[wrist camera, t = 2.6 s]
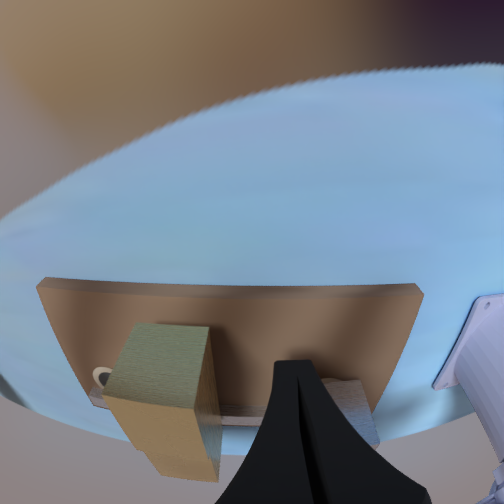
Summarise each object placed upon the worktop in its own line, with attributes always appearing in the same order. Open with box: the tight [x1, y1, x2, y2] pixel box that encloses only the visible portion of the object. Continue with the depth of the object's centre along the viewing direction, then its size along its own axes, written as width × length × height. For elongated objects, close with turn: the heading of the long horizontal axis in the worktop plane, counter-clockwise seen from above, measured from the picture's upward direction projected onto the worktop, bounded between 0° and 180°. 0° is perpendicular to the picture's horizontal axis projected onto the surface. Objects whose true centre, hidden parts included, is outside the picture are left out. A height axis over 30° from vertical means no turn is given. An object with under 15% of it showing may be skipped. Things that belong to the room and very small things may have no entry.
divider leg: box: [101, 322, 223, 482], centre depth 11 cm, size 3×8×5 cm, turn 0°
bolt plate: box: [36, 277, 424, 426], centre depth 14 cm, size 19×10×1 cm, turn 90°
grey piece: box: [89, 380, 380, 450], centre depth 12 cm, size 16×4×5 cm, turn 90°
